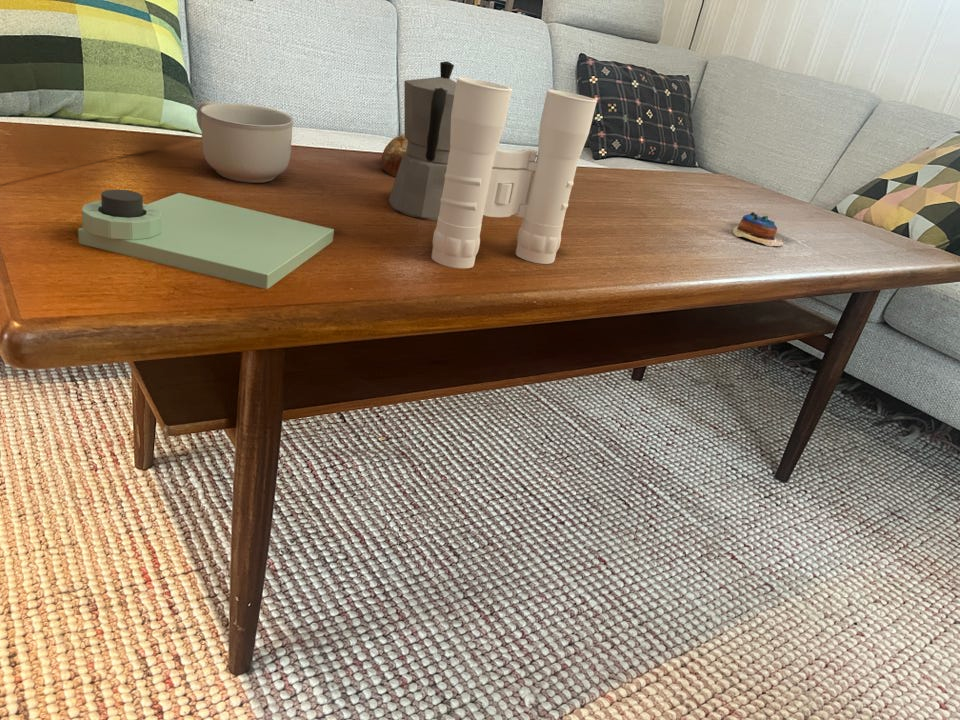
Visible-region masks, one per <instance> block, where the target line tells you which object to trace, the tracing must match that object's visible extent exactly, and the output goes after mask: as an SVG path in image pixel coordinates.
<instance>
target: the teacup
mask: <svg viewBox="0 0 960 720" xmlns="http://www.w3.org/2000/svg"><path fill="white" fill-rule="evenodd" d="M197 106H198V107H197V109H196V115H195V118H196V122H197V126H198V128H199V129H200V132H201V144H202V153H203V156H204V159H205V161H206V163H207V164H208V165H209V167H211V168H212V169H213V170H215V171H216V173H217V174H218V175H219V176H221V177H223V178H225V179H227V180H231V181H235V182H239V183H246V184H247V183H248V184H262V183H268V182H271V181H273V180H274V179H275V178H277V176H280V175H281V174H283V173H284V172H285V171H286V169H287V168H288V166H289V163H290V159H291V154H292V153H291V152H292V143H293V142H292V139H293V125H294V118H293V117H292V116H291V115H289V114H287V113H285V112H283V111H280V110H277V109H274V108H269V107H266V106H259V105H253V104H246V103H232V102H231V103H230V102H229V103H226V102H224V103H221V102H220V103H216V102H214V101H210V100H209V101H202V102H201V103H199V104H198V105H197Z"/></svg>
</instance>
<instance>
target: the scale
mask: <svg viewBox="0 0 960 720" xmlns="http://www.w3.org/2000/svg"><path fill="white" fill-rule="evenodd" d="M81 223H82V224H81V225H82V226H81V227H79V228H78V229H77V236H78V237H77V239H78V245H82V246H87V247H92V248H95V249H100V250H104V251H108V252H113V253H116V254H120V255H124V256H128V257H131V258H132V257H133V258H137V259H141V260H145V261H149V262H153V263H157V264H162V265H166V266H170V267H174V268H178V269H181V270H186V271H190V272H193V273H194V272H195V273H198V274H202V275H205V276H210V277H215V278H219V279H221V280H227V281H230V282H235V283H239V284H243V285H248V286H251V287H254V288H255V287H256V288H261V289H264V290H268V289H270V288H271V287H273V286H274V285H275V284H277V283H278V282H280V281H281V280H282V279H283V278H285V277H286V276H288V275H289V274H290V273H292V272H293V271H295V270H296V269H297V268H298V267H300V266H301V265H302V264H304V263H305V262H307V261H308V260H310V259H311V258H312V257H313V256H315V255H316V254H317V253H319V252H320V251H322V250H323V249H325V248H326V247H327V246H329V245H330V244H332V243H333V242H334V234H335V229H333V228H330V227H326V226H322V225H317V224H313V223H309V222H304V221H301V220H297V219H292V218H288V217H283V216H279V215H275V214H271V213H267V212H262V211H258V210H253V209H249V208H246V207H241V206H238V205H233V204H230V203H229V204H228V203H224V202H220V201H215V200H211V199H208V198H202V197H200V196H195V195H192V194H191V195H190V194H186V193H183V192H177V193H175V194H172V195H168V196H166V197H163V198H160V199H158V200H155V201H152V202H149V203H143V216H141V217H132V218H124V217H113V216H109V215H105V214H102V202H101V200H95V201H92V202H88V203H85V204H83V205H82V207H81Z"/></svg>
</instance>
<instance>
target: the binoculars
mask: <svg viewBox="0 0 960 720" xmlns="http://www.w3.org/2000/svg"><path fill="white" fill-rule="evenodd" d="M455 82H456V89H455V95H454V101H453V107H452V113H451V135H450V145H451V146H450V152H449V158H448V164H447V170H446V174H445V182H444V188H443V194H442V198H441V206H440V212H439V216H438V221H437V222H436V226H435V228H434V231H433V235H432V251H431V259H432V260H433V261H434V262H436V263H437V264H439V265H442V266H445V267H449V268H453V269H454V268H455V269H471V268H473V267H474V266H475V261H476V256H477V254H478V252H479V249H480V244H481V237H480V236H481V231H482V225H483V224H482V222H483V218H484V216H485V217H488V218H510V217H511V216H514V217H517V218H522V220H521V221H522V222H521V225H520V227H519V229H518V232H517V239H516V241H517V244H516V249H515V255H516V256H517V257H518V258H520V259H522V260H524V261H526V262H530V263H535V264H541V265H549V264H550V265H551V264H553V263H554V262H555V260H556V255H557V252H558V250H559V248H560V246H561V241H562V231H563V227H564V221H565V217H566V212H567V209H568V207H569V200H570V196H571V192H572V188H573V186H574V185H575V183H574V179H575V176H576V171H577V167H578V163H579V159H580V157H581V155H582V152H583V149H584V148H585V144H586V142H587V140H588V137H589V134H590V131H591V126H592V122H593V118H594V114H595V111H596V110H595V109H596V106H597V103H598V100H597V99H596V98H595V99H594V98H593V97H589V96H586V95H581V94H577V93H573V92H569V91H563V90H556V89H547V90H546V93H545V99H544V103H543V109H542V113H541V118H540V122H539V134H538V145H537V150H535V149H531V148H527V149H522V150H514V151H513V150H499V149H498V147H499V144H500V141H501V139H502V135H503V132H504V129H505V127H506V121H507V116H508V112H509V106H510V101H511V96H512V92H513V89H512V88H511V87H510V86H506V85H504V84H500V83H495V82H491V81H486V80H482V79H476V78H469V77H457V78H456V81H455Z"/></svg>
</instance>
